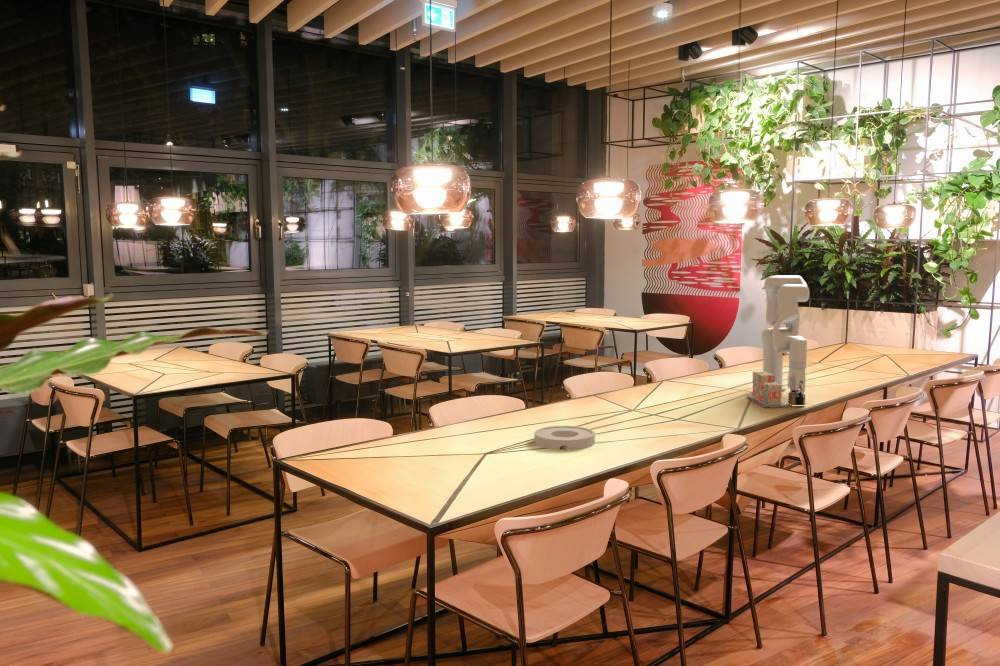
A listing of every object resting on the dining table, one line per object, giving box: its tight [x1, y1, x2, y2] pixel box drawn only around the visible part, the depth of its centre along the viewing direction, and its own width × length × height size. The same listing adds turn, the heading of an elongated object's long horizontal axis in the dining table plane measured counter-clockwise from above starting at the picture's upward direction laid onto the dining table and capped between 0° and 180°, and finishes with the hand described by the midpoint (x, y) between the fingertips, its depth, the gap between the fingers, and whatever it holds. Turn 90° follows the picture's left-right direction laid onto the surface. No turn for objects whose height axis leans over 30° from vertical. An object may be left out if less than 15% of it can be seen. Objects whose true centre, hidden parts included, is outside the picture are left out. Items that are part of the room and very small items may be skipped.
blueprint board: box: [746, 395, 788, 408], centre depth 363 cm, size 25×10×1 cm, turn 0°
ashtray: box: [534, 425, 596, 451], centre depth 296 cm, size 23×23×4 cm
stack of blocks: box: [752, 371, 783, 405], centre depth 362 cm, size 21×6×12 cm, turn 1°
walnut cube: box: [787, 392, 806, 406], centre depth 356 cm, size 6×6×6 cm
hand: (796, 403), depth 356 cm, fingers open, 5 cm apart
